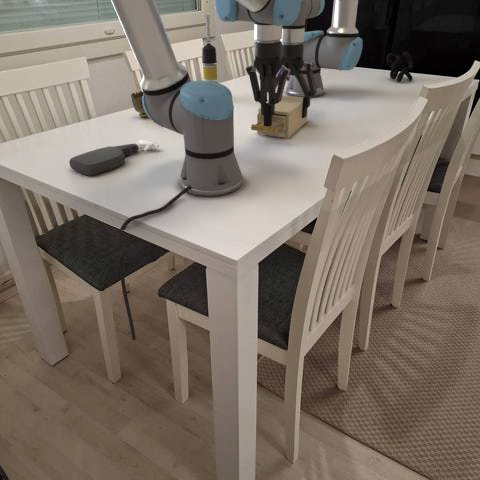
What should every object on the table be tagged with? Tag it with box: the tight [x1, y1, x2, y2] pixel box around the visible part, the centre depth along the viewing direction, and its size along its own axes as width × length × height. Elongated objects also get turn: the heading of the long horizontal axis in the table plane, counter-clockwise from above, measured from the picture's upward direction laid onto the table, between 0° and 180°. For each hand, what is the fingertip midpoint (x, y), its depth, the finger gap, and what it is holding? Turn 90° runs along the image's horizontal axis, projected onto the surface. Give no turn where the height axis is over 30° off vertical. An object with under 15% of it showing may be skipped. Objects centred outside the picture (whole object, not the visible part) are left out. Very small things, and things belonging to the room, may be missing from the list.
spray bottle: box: [68, 139, 160, 177], centre depth 124 cm, size 3×11×24 cm
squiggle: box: [385, 51, 414, 83], centre depth 198 cm, size 11×10×15 cm
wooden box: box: [257, 94, 309, 139], centre depth 144 cm, size 18×10×8 cm, turn 154°
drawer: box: [250, 113, 286, 138], centre depth 140 cm, size 23×9×6 cm, turn 154°
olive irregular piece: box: [130, 90, 149, 118], centre depth 157 cm, size 8×7×8 cm
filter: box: [201, 14, 219, 83], centre depth 171 cm, size 6×6×30 cm
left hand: (267, 126), depth 133 cm, fingers closed
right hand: (288, 115), depth 148 cm, fingers closed on wooden box, 10 cm apart
